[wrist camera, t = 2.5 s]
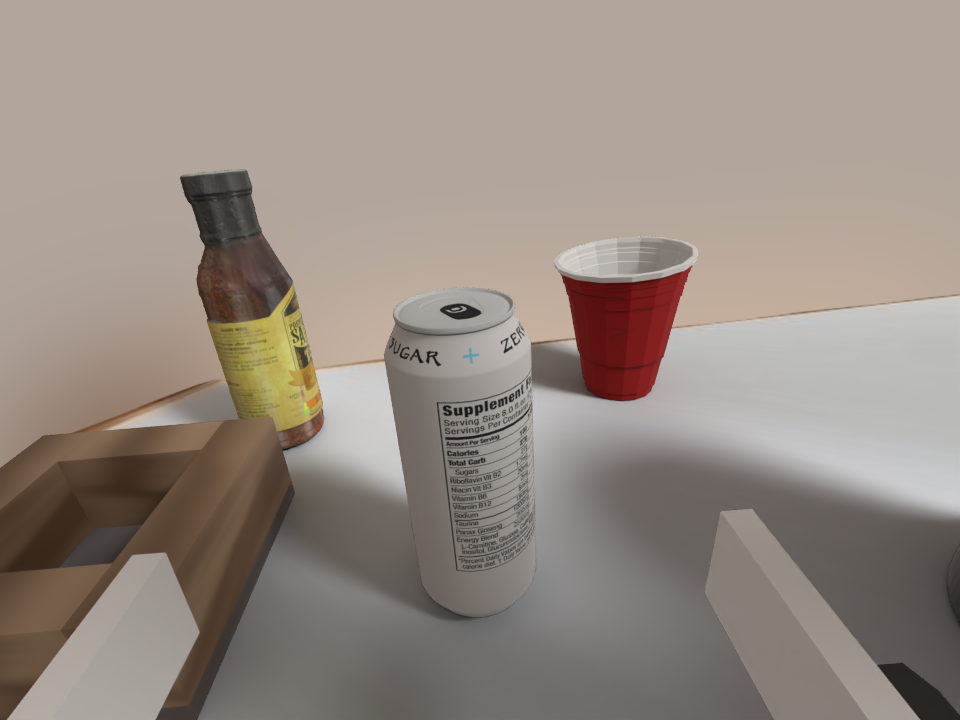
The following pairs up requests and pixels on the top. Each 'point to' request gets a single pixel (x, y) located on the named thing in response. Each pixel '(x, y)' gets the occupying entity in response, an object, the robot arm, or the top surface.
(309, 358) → the sauce bottle
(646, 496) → the top surface
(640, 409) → the top surface
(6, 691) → the well block
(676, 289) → the plastic cup
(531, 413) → the energy drink can
